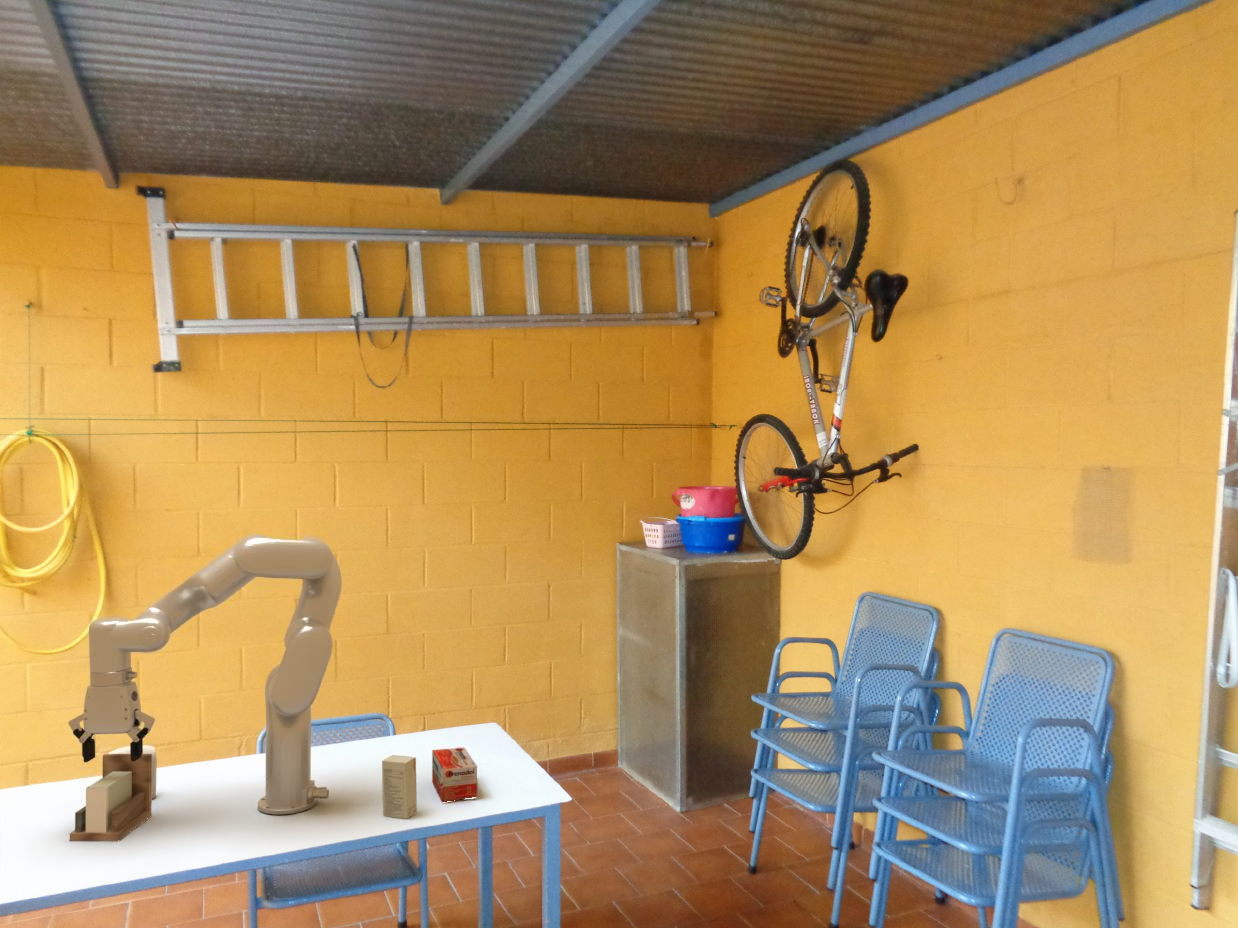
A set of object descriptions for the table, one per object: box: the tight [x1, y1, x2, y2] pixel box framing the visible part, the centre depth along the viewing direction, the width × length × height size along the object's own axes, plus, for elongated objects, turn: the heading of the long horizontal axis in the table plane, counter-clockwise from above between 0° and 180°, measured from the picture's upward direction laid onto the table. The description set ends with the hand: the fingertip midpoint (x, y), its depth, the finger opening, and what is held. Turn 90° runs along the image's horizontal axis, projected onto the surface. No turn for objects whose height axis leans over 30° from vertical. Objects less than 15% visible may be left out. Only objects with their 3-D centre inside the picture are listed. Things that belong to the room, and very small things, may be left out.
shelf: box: [69, 753, 152, 842], centre depth 193 cm, size 10×13×14 cm
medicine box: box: [431, 747, 478, 803], centre depth 217 cm, size 15×8×8 cm, turn 21°
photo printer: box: [107, 744, 158, 800], centre depth 209 cm, size 10×4×12 cm, turn 123°
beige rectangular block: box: [85, 771, 132, 833], centre depth 192 cm, size 4×10×9 cm, turn 0°
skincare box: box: [381, 754, 418, 819], centre depth 202 cm, size 6×4×12 cm
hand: (112, 759), depth 192 cm, fingers open, 9 cm apart
